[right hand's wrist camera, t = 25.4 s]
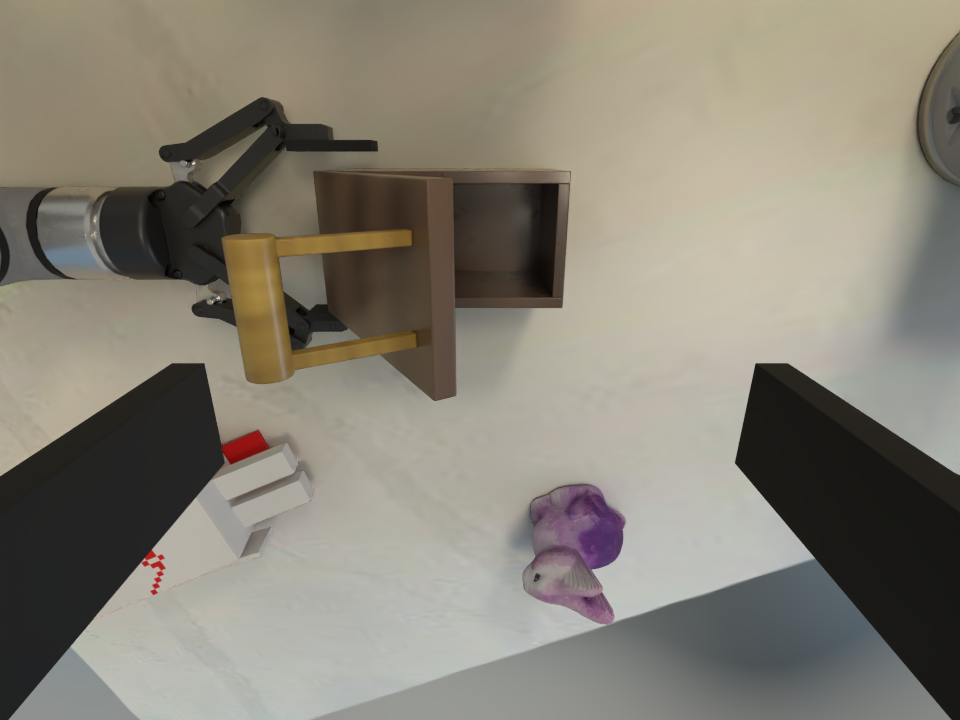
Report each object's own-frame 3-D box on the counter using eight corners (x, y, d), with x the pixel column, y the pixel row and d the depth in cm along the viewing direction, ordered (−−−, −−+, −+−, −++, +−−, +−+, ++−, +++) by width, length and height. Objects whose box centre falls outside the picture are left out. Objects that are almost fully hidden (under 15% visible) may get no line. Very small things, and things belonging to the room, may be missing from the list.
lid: (453, 178, 22) (216, 181, 17) (457, 396, 25) (262, 444, 21) (330, 170, 36) (186, 172, 32) (344, 309, 40) (216, 326, 36)
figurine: (508, 517, 61) (516, 624, 47) (571, 463, 58) (600, 559, 44) (563, 560, 63) (587, 674, 49) (626, 510, 60) (671, 615, 46)
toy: (315, 548, 51) (31, 664, 50) (334, 477, 63) (107, 570, 63) (253, 447, 46) (-55, 573, 46) (287, 393, 59) (44, 492, 59)
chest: (550, 169, 47) (570, 171, 37) (545, 278, 51) (562, 308, 40) (358, 168, 47) (324, 170, 37) (367, 278, 51) (338, 307, 40)
